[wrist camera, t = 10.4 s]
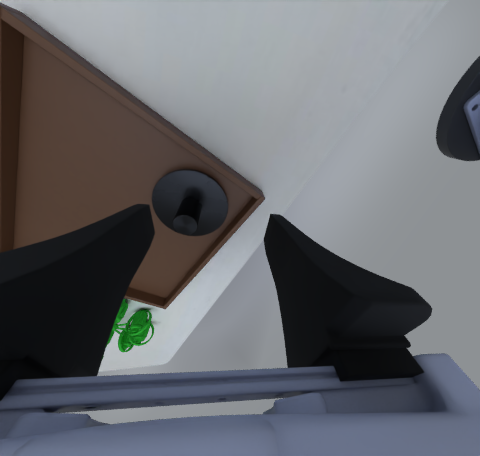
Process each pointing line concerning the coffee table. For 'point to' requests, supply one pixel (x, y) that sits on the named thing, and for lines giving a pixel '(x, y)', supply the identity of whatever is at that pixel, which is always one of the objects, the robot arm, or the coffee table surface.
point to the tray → (95, 159)
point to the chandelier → (132, 328)
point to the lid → (190, 202)
